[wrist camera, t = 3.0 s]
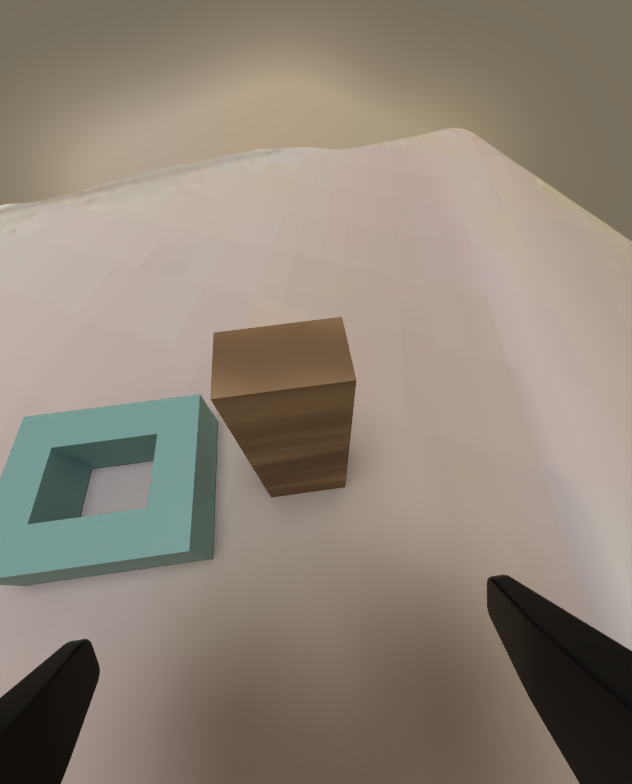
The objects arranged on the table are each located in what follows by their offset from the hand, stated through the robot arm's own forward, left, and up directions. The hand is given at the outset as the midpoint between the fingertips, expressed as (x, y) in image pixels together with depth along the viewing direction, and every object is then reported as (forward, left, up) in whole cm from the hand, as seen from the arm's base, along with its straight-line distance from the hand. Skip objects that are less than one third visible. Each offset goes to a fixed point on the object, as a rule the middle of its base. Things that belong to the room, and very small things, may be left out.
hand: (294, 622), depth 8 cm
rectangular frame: (+14, +3, -13) cm, 20 cm away
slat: (+6, -6, -14) cm, 16 cm away
